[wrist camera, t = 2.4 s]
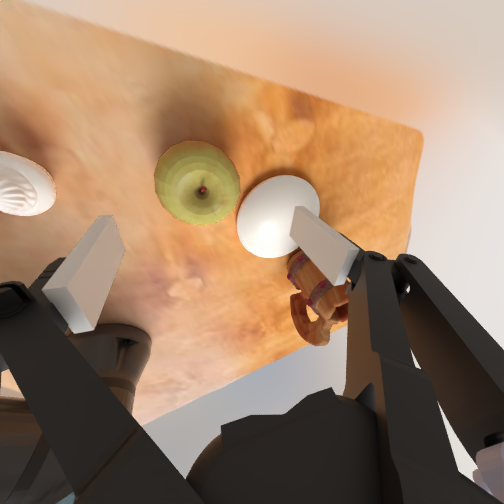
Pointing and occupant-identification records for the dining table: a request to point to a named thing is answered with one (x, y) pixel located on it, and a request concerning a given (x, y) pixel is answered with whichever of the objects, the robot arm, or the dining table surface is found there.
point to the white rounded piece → (24, 186)
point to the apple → (197, 182)
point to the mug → (315, 300)
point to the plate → (273, 214)
